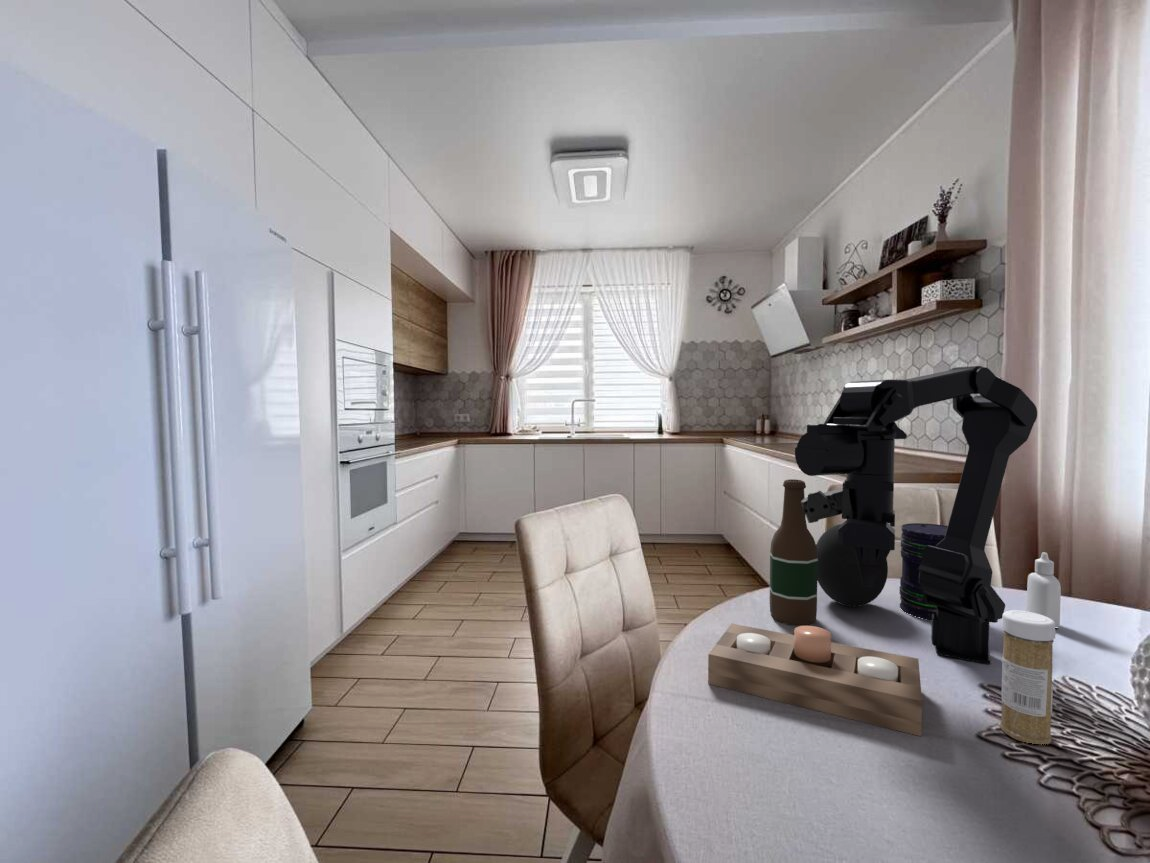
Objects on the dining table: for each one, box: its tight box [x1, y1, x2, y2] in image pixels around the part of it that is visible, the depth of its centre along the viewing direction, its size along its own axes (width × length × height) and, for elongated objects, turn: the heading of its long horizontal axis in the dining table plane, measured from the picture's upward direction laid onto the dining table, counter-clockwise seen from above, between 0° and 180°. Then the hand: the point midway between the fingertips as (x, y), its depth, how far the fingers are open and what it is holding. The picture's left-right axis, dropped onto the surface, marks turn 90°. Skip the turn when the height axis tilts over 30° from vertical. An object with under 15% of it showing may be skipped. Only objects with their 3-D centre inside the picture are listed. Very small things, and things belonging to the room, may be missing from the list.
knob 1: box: [737, 633, 770, 655], centre depth 77 cm, size 4×4×3 cm
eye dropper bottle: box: [1026, 551, 1062, 628], centre depth 94 cm, size 4×6×12 cm
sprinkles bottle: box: [999, 610, 1056, 746], centre depth 62 cm, size 5×5×14 cm
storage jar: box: [898, 522, 948, 621], centre depth 99 cm, size 10×10×15 cm
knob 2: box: [857, 656, 898, 682], centre depth 69 cm, size 4×4×3 cm
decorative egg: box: [815, 523, 889, 607], centre depth 103 cm, size 12×12×15 cm
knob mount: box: [707, 623, 923, 737], centre depth 73 cm, size 24×12×4 cm, turn 60°
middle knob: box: [793, 625, 832, 662], centre depth 73 cm, size 4×4×3 cm
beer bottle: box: [769, 478, 818, 626], centre depth 96 cm, size 8×8×24 cm
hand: (867, 586), depth 77 cm, fingers closed
